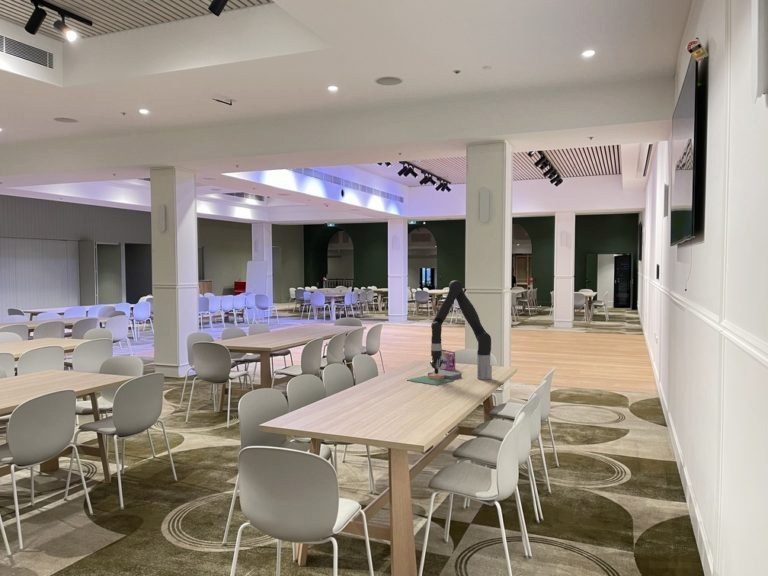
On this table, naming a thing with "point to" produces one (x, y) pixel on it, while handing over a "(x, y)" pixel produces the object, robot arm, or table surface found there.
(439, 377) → the coral tile
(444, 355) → the gum box
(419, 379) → the green mat
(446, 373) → the gray riser
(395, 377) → the table surface
